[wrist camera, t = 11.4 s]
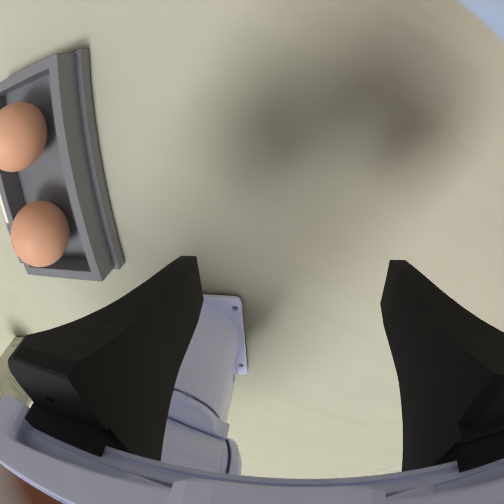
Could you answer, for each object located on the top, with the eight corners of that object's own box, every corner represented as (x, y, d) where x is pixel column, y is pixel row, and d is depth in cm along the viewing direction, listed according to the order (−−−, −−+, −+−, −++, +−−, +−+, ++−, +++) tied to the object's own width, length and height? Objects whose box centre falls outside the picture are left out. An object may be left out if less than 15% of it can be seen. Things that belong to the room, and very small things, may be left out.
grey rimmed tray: (124, 262, 24) (107, 284, 21) (26, 257, 26) (8, 273, 23) (88, 49, 15) (61, 48, 13) (-13, 96, 17) (-36, 103, 15)
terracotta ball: (65, 155, 19) (18, 176, 14) (24, 164, 19) (-19, 186, 15) (56, 89, 16) (6, 98, 12) (15, 106, 17) (-31, 119, 12)
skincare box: (15, 335, 34) (-27, 393, 24) (29, 336, 33) (-15, 399, 23) (38, 365, 37) (2, 422, 27) (53, 368, 36) (16, 430, 26)
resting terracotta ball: (88, 246, 22) (53, 282, 18) (47, 246, 23) (13, 277, 19) (72, 188, 20) (29, 216, 16) (31, 193, 21) (-9, 219, 16)
